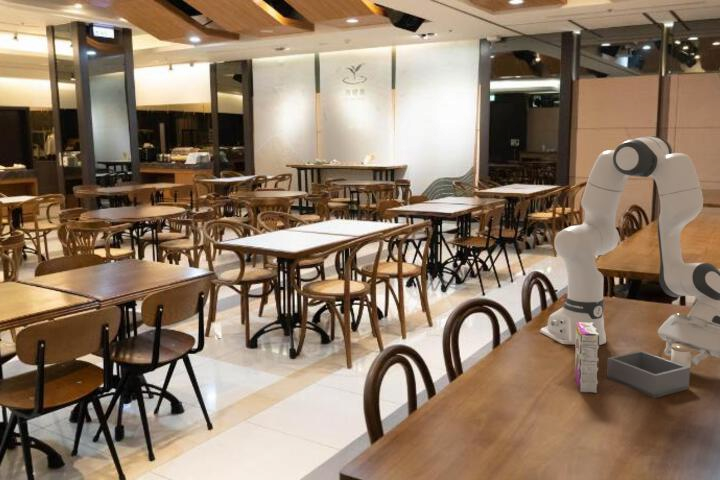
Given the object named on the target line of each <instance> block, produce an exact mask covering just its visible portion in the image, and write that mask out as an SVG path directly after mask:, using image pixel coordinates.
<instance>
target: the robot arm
mask: <svg viewBox="0 0 720 480" xmlns="http://www.w3.org/2000/svg"><path fill="white" fill-rule="evenodd" d="M630 177H641V178H648V177H652V179H653V180H654V182H655V184H656V186H657V192H658V195H659V196H658V197H659V202H660V203H659V204H660V213H659V216H658V218H657V239H658V249H659V251H658V253H659V263H660V264H659V265H660V266H659V275H658V281H659V285H660V287H661V289H662V291H663V292H664V293H665V294H666V295H668V296H670V297H672V298H677V297H678V298H680V297H694V298H695V299H697V301H696V302H695V304H694V305H693V307H692V308H691V310H690V311H689V313H688V314H687V315H685V314H681V313H678V312H677V313H675V314H671V315H670V316H669V317H668V318H667V319H666V320H665V321H664V322H663V323H662V325H661V326H660V327H659V328H658V330H657V334H658V336H659V338H661V340H663V341H665V349H664V350H663V354H664V356H668V357H671V350H672V344H686V345H689V346H691V350H693V351H696V352H699V353H698V354H696V355H691V359H690V364H692V365H694V366H697V365H698V364H699V363H700V361H702V360H703V361H704V359H707V358H708V356H712V357H715V358H718V359H720V268H717V267H716V266H715V265H714V264H712V263H710V262H691V263H685V262H684V260H683V255H682V243H681V234H682V231H683V229H684V228H685V227H686V225H687V224H689V223H690V222H693V220H695V219H696V218H697V217H698V216H699V214H701V212H702V210H703V208H704V195H703V191H702V187H701V182H700V178H699V175H698V172H697V170H696V167H695V165H694V163H693V160H692V158H691V157H690V156H689V155H688V154H685V153H681V152H673V148H672V146H671V144H670V143H669V142H668V141H667V140H666V139H665V138H662V137H660V136H639V137H637V138H632V139H628V140H625V141H623V142H622V143H620V144H619V145H618V146H617V147H616V148H615V150H614V149H609V150H604V151H602V152H601V153H600V154H599V155H598V157H597V158H596V160H595V161H594V163H593V167H592V169H591V171H590V173H589V175H588V179H587V182H586V184H585V188H584V191H583V194H582V196H581V197H582V198H581V201H580V205H581V208H582V209H583V210H584V220H583V222H582V224H574V225H570V226H568V227H565V228H563V229H562V230H560V231H559V232H557V233H556V235H555V237H554V239H553V240H554V241H553V247H554V250H555V251H556V253H557V255H558V256H559V257H560V258H561V259H562V261H563V262H564V266H565V269H566V273H567V296H566V297H565V296H564V297H561V302H564V303H563V304H562V307H561V308H559V309H558V310H556V311H554V312H553V313H551V314H550V315H549V316H548V319H547V325H546V326H544V327H541V328H540V331H539V332H540V333H541V334H543V335H545V336H547V337H548V338H551V339H552V340H554V341H556V342H558V343H559V344H562V345H573V346H574V345H576V322H590V323H594V325H595V327H596V329H597V331H598V333H599V346H601V345H604V344H606V343H607V338H606V337H607V336H606V335H607V334H606V332H605V321H604V310H605V298H604V279H605V278H604V274H603V273H602V272H601V271H599V269H598V267H597V264H596V257H598V256H604V255H606V254H608V253H610V252H611V251H613V250H614V249H616V247H618V245H619V242H620V235H619V231H618V229H617V228H616V216H617V212H618V208H619V205H620V202H621V198H622V195H623V192H624V189H625V187H626V183H627V181H628V179H629V178H630Z"/></svg>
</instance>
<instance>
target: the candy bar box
mask: <svg viewBox="0 0 720 480" xmlns="http://www.w3.org/2000/svg"><path fill="white" fill-rule="evenodd" d="M574 347H575V351H574V352H575V355H574V357H575V359H574V361H575V363H574V379H575V382H576V385H577V388H578V392H579V393H585V394H586V393H587V394H591V393H592V394H598V393H599V392H598V391H599V390H598V389H599V387H598V386H599V362H600V361H599V359H600V358H599V356H600V352H599V351H600V345H599V333H598V331H597V329H596V327H595V325H594V323H590V322H576V345H575V346H574Z"/></svg>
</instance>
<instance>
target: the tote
mask: <svg viewBox="0 0 720 480" xmlns="http://www.w3.org/2000/svg"><path fill="white" fill-rule="evenodd" d="M606 360H607V365H606V379H608V380H610V381H612V382H615V383H617V384H619V385H622V386H625V387H627V388H629V389H632V390H634V391H636V392H638V393H641V394H644V395H646V396H649V397H651V398H653V399H656V398H661V397H664V396H667V395H671V394H675V393H678V392H679V393H680V392H682V391H686V390H689V389H690V376H691V366H690V367H687V366H684V365H681V364H679V363H676V362H673V361H671V359H670V360H669V359H666V358H664V357H661V356H658V355H655V354H653V353H649V352H646V351H643V350H637V351H633V352H628V353H624V354H620V355H619V354H618V355H615V356H611V357H607V359H606Z"/></svg>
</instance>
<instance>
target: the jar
mask: <svg viewBox="0 0 720 480" xmlns="http://www.w3.org/2000/svg"><path fill="white" fill-rule="evenodd" d="M691 357H692V349H691V346H689V345H686V344H672V346H671V356H670V361H673V362H676V363H679V364H681V365H684V366H687V367H690V368H691V362H690V359H691Z"/></svg>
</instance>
